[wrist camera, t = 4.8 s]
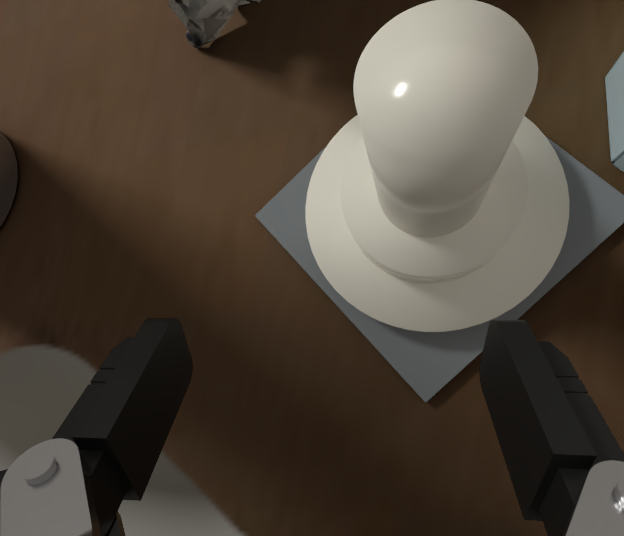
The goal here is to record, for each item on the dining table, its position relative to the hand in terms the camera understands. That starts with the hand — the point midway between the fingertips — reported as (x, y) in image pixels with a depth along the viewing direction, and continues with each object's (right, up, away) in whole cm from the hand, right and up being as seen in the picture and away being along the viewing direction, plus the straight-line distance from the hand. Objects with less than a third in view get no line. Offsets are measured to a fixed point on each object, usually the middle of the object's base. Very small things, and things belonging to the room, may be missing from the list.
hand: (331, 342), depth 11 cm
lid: (+5, +5, +8) cm, 11 cm away
